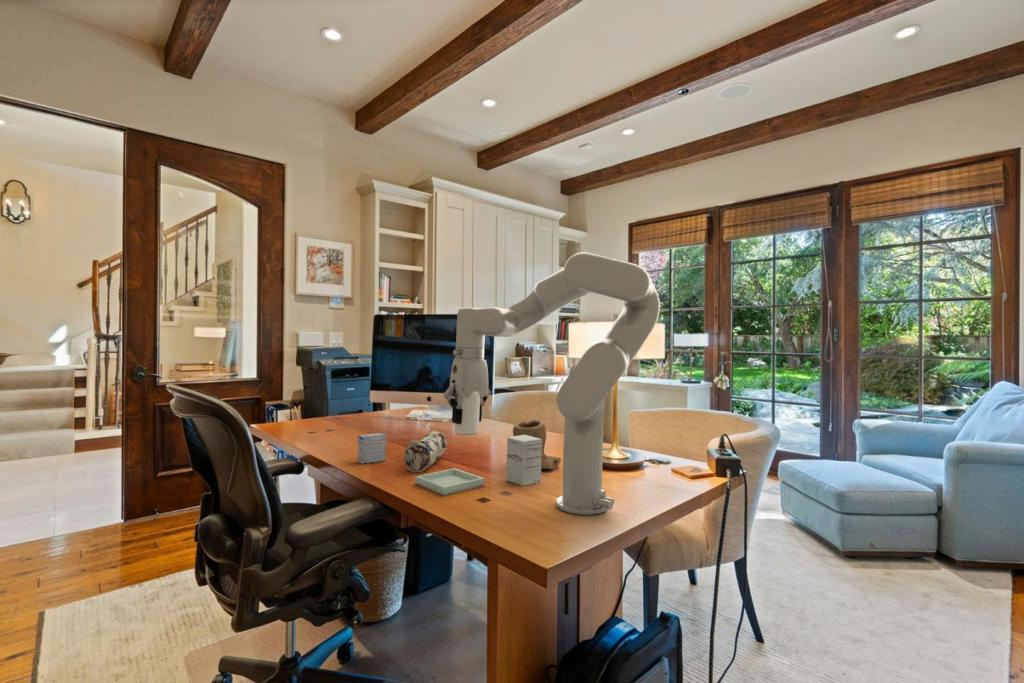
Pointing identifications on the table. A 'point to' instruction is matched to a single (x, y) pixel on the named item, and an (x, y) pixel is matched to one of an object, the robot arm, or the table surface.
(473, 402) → the can
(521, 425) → the brown boot
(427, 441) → the pencil case
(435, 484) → the tray
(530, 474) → the supplement box
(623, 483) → the table surface
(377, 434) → the medicine box
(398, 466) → the table surface
